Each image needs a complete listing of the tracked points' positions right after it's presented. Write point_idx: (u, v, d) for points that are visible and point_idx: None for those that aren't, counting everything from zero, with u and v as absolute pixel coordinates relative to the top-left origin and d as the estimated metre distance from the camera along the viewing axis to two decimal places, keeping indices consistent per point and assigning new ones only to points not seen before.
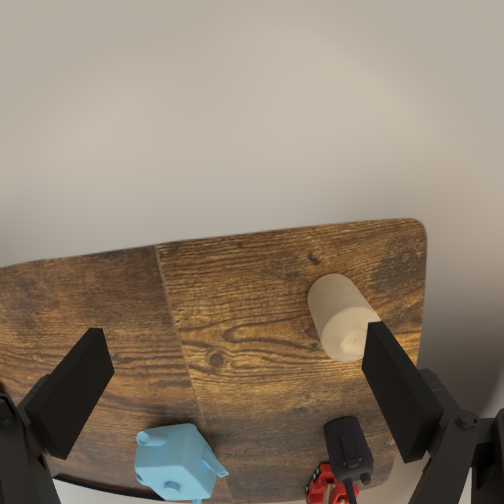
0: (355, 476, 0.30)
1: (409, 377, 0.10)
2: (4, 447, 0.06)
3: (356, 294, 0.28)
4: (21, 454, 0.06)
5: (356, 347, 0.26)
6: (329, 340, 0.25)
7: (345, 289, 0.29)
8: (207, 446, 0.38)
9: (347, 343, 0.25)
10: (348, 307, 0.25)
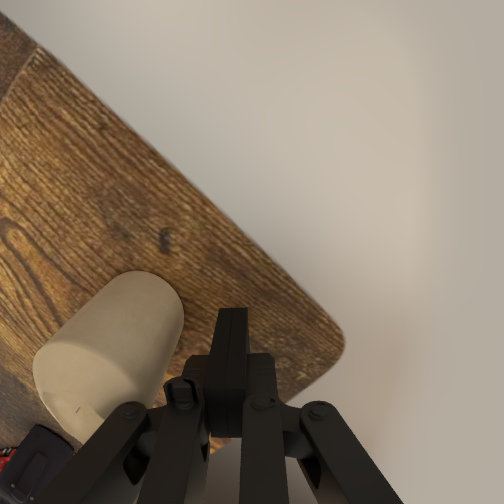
0: None
1: (233, 356, 0.12)
2: (169, 433, 0.08)
3: (155, 348, 0.14)
4: (186, 447, 0.08)
5: (75, 418, 0.10)
6: (40, 367, 0.10)
7: (149, 324, 0.14)
8: None
9: (64, 400, 0.10)
10: (107, 357, 0.10)
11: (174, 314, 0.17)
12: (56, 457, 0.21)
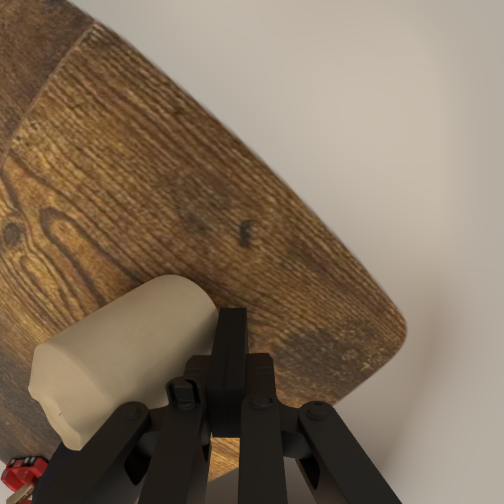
0: None
1: (231, 356, 0.12)
2: (170, 433, 0.08)
3: (160, 368, 0.12)
4: (187, 448, 0.08)
5: (63, 418, 0.10)
6: (33, 364, 0.10)
7: (160, 340, 0.13)
8: None
9: (52, 400, 0.10)
10: (89, 372, 0.09)
11: (203, 330, 0.15)
12: None
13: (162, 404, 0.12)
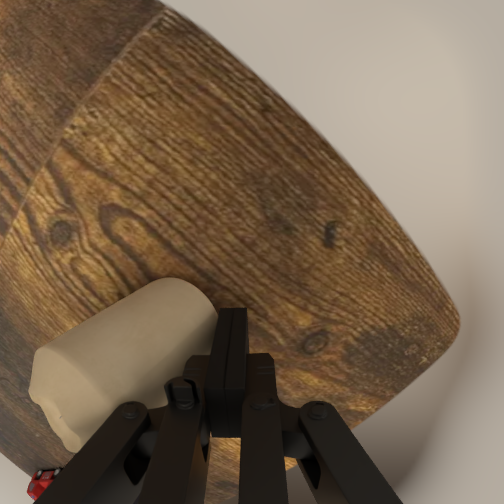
0: None
1: (232, 356, 0.12)
2: (169, 433, 0.08)
3: (159, 370, 0.12)
4: (187, 448, 0.08)
5: (64, 421, 0.10)
6: (33, 367, 0.10)
7: (159, 343, 0.13)
8: None
9: (53, 403, 0.10)
10: (88, 374, 0.09)
11: (202, 332, 0.15)
12: None
13: (162, 406, 0.12)
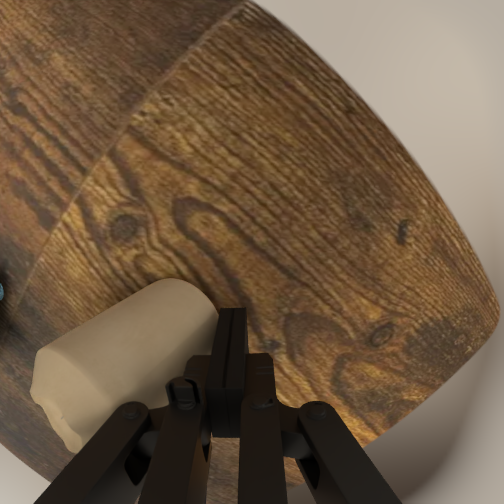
0: None
1: (231, 356, 0.12)
2: (170, 434, 0.08)
3: (160, 370, 0.12)
4: (187, 448, 0.08)
5: (65, 422, 0.10)
6: (34, 368, 0.10)
7: (160, 343, 0.13)
8: None
9: (54, 404, 0.10)
10: (89, 375, 0.09)
11: (203, 333, 0.15)
12: None
13: (163, 406, 0.12)
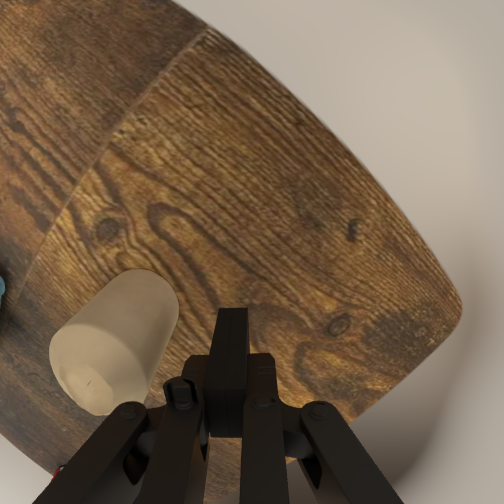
0: None
1: (233, 356, 0.12)
2: (168, 433, 0.08)
3: (154, 331, 0.16)
4: (186, 448, 0.08)
5: (86, 391, 0.13)
6: (57, 347, 0.12)
7: (149, 311, 0.17)
8: None
9: (77, 375, 0.13)
10: (115, 335, 0.13)
11: (170, 305, 0.20)
12: None
13: (159, 361, 0.16)
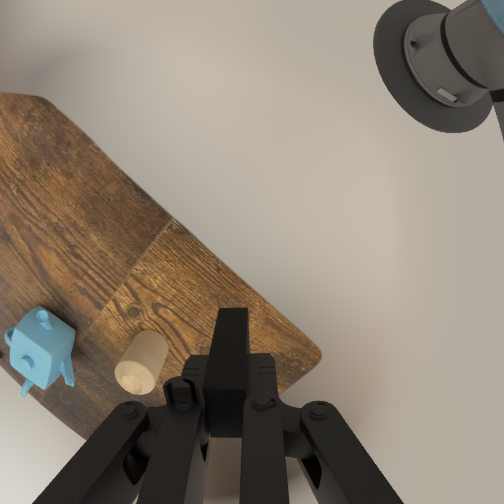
0: None
1: (233, 356, 0.12)
2: (168, 433, 0.08)
3: (157, 361, 0.40)
4: (185, 448, 0.08)
5: (130, 385, 0.36)
6: (120, 369, 0.36)
7: (155, 353, 0.40)
8: (70, 354, 0.44)
9: (127, 379, 0.36)
10: (143, 365, 0.36)
11: (164, 348, 0.43)
12: None
13: (159, 373, 0.40)
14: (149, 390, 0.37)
